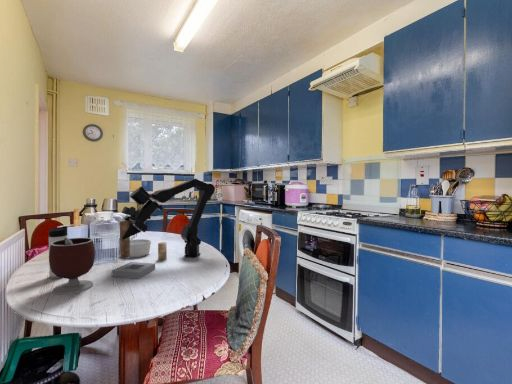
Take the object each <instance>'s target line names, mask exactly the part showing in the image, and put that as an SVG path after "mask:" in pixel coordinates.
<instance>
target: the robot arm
mask: <svg viewBox="0 0 512 384" xmlns="http://www.w3.org/2000/svg"><path fill="white" fill-rule="evenodd" d="M192 188H195V190H198V200H197V202H196V204H195V206H194V210H193V213H192V215H191V217H190V220H189V221H188V223H187V225H183V226H182V228H181V229H182V230H181V231H180V233H181V234H180V238H181V239H182V240H183V241H184V243H185V246H184V256H183V257H187V258H189V257H190V258H197V257H198V256H200V255H201V252H200V245H201V243H202V240H201V238H200V237H198V233H199V228H198V226H199V223H200V220H201V218H202V215H203V213H204V212H205V211H204V210H205V208H206V205H207V203H208V202H209V200H210V199H211V198H212V196H213V195H214V193H215V191H216V190H215V189H216V188H215V186H214V184H212V183H206V182H204V181H201V180H199V179H197V178H190V179H188V180H187V181H184V182H181V183H179V184H177V185H175V186H172V187H168V188H163V189H157V190H155V191H154V192H153V193H149V192H148V191H147V190H145V187H143V186H139V187H138V188H137V189H135V190H133V191H132V192H131V193H130V195H129V197H130V198H131V199H132V200H133V201H134V202H135V203H136V204H138V206H139V205H140V206H141V205H142V207H140V208H136V207H135V206H130V207H128V206H124V207H123V208H122V211H121V214H123V215H126V216H124V217H123V221H129V228H128V230H127V231H126V233H125V234H124V235H123V237H122V239H123V240H124V239H126V238H128V237H133V236H135V235H136V234H139V233H141V232H143V233H146V232H147V230H148V225H147V224H146V222H147V221H148V220H151V219H152V215H153V214H154V213H155V212H156V211H157V210H158V211H161V212H162V211H163V204H164V203H166V202H168V201H169V200H171V199H172V198H173V197H175V196H176V195H178V194H181V193H183V192H186V191H188V190H190V189H192ZM159 203H162V204H159ZM118 237H119V238H120V235H119V236H118Z"/></svg>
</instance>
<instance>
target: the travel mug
mask: <svg viewBox="0 0 512 384" xmlns="http://www.w3.org/2000/svg"><path fill="white" fill-rule="evenodd" d="M64 238H68V239H69V237H68V226H66V225H63V226H60V227H59V226H58V227H53V228H50V229H49V230H48V251H49V250H50V246H51V243H52V242H54V241H58V240H63V239H64ZM48 264H49V263H48ZM48 266H49V269H48V270H49V278H50V279H52V280H58V279H61V278H60V277H57V276H56V275H55V274H54V273H53V272H52V271H51V268H50V264H49V265H48Z"/></svg>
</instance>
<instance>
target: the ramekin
mask: <svg viewBox="0 0 512 384" xmlns="http://www.w3.org/2000/svg"><path fill="white" fill-rule="evenodd" d="M151 244H152V240H150V239H147V238H145V239H144V238H139V239H138V238H136V239H130V257H129V258H141V257H145V255H146V256H148V255H149V253H150V250H151Z"/></svg>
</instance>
